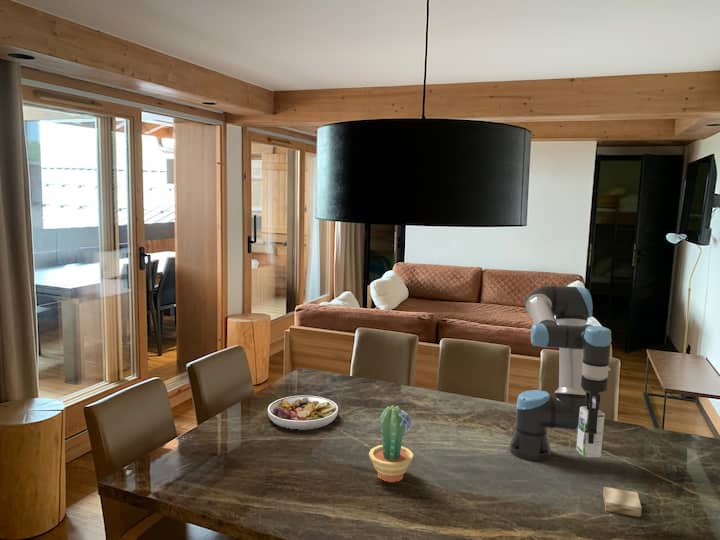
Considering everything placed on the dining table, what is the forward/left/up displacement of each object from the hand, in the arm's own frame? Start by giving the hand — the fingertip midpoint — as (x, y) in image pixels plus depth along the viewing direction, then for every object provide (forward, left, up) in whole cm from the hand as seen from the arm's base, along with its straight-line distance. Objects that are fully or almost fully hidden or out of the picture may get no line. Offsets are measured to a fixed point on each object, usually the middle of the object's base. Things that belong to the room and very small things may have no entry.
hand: (589, 446), depth 181 cm
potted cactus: (-63, -4, -19) cm, 66 cm away
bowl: (-112, +32, -20) cm, 118 cm away
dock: (+11, +3, -19) cm, 22 cm away
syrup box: (0, 0, -2) cm, 2 cm away
